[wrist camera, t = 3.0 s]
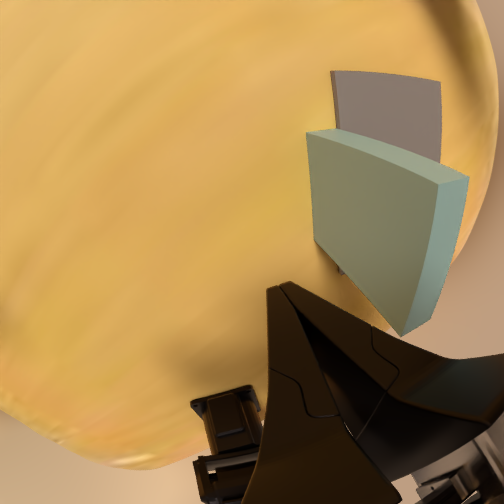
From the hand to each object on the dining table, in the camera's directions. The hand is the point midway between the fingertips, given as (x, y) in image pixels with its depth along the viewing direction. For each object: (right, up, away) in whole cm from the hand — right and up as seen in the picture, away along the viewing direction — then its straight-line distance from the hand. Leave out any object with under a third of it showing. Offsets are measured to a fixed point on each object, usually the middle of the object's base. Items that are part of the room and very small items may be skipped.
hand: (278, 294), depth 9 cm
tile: (+4, +5, +7) cm, 9 cm away
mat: (+9, +7, +8) cm, 14 cm away
